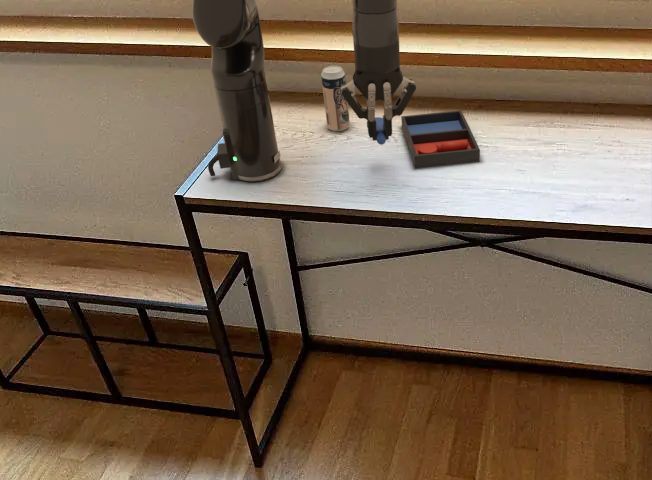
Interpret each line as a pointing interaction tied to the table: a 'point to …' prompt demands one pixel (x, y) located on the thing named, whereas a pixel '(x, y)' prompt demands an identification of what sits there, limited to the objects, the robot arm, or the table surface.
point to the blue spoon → (379, 131)
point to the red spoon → (442, 147)
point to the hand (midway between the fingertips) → (380, 137)
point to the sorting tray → (439, 138)
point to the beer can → (335, 98)
